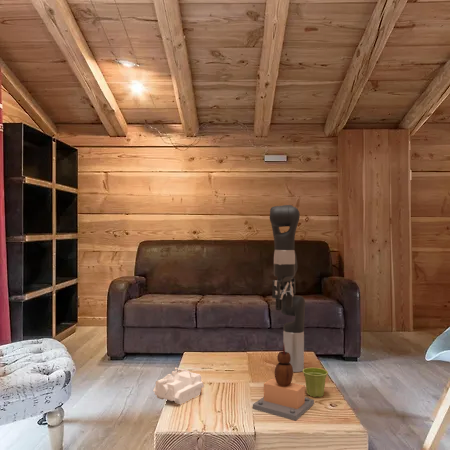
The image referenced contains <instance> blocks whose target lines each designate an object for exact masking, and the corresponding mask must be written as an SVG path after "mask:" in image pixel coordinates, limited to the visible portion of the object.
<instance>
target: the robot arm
mask: <svg viewBox="0 0 450 450" xmlns="http://www.w3.org/2000/svg"><path fill="white" fill-rule="evenodd" d="M300 216H301V215H300V211H299V209H298V207H296V206H293V205H291V204H284V205H276V206H272V207H270V210H269V221H270V224H271V229H272V235H273V243H274V252H273V275H274V277H276V279H277V280H275V279H273V280H272V287H271V288H272V290H271V292H272V293H271V294H272V295H271V297H272V298H273V299H275V310H276V311H280V312H281V314H282V315H284V316H289V317H290V316H291V317H292V316H293V317H294V320H293V321H289V322H285V323H284V324H283V334H282V335H283V338H282V339H283V343H282V344H283V345H284V346H285V352H288V353H289V354H290V357H291V360H290V362H289V363H290V364H291V365H292V367H293V373H299V372H300V373H302V372H303V369H305V364H304V363H305V314H306V313H305V311H306V301H305V300H306V299H305V298H304V297H303V296H302V295H296V278H295V277H296V273H297V271H298V260H297V253H296V251H295V241H296V240H295V239H296V232H297V228H298V224H299V221H300ZM281 227H289V228H288V230H286V231H284V232H281V230H280V228H281Z"/></svg>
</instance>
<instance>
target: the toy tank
mask: <svg viewBox="0 0 450 450" xmlns="http://www.w3.org/2000/svg"><path fill="white" fill-rule="evenodd" d="M178 370H180V371H181V372H178ZM204 387H205V385H204V382H203V381H202V375H201V374H200V373H195V372H191V371H190V370H187V369H184V368H183V369H182V368H180V367H174V370H172V371H171V373H168V374H166V375H165V376H164V377H163V378H161V379H158V380H156V381H155V385H154V388H153V390H152V391H153V392H154V395H155V396H156V397H157V399H159V400H168V401H170V402H173V401H174V403H177V404H176V405H178V404H180V405H179V406H182V405H183V404H182V403H184V404H186V403H187V402H186V401H188V400H190V399H192V398H194V399H196V398H197V397H196V396H198V395H200V396H201V391H202V389H203V388H204ZM195 397H196V398H195ZM198 397H199V396H198ZM192 400H193V399H192ZM190 401H191V400H190ZM185 402H186V403H185ZM188 402H189V401H188ZM181 404H182V405H181Z"/></svg>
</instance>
